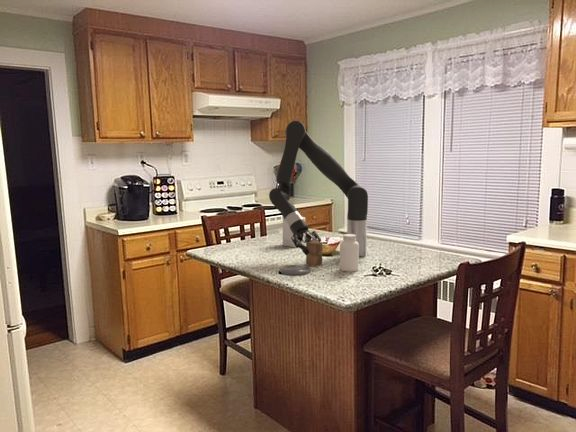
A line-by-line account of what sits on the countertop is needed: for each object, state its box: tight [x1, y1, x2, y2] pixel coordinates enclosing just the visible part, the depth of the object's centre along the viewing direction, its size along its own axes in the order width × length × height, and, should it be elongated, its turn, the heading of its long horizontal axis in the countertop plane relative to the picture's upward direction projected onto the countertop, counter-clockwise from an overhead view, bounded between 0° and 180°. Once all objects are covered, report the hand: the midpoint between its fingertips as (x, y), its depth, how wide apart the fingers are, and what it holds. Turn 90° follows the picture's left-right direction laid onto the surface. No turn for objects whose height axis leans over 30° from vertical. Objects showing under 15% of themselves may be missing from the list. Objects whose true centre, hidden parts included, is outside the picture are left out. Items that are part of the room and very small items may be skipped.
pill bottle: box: [339, 233, 360, 273], centre depth 202 cm, size 8×8×15 cm
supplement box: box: [282, 216, 306, 248], centre depth 253 cm, size 9×9×15 cm
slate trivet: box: [279, 264, 312, 276], centre depth 201 cm, size 13×13×1 cm
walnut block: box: [305, 241, 323, 267], centre depth 212 cm, size 5×5×10 cm
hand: (314, 252), depth 212 cm, fingers open, 8 cm apart
